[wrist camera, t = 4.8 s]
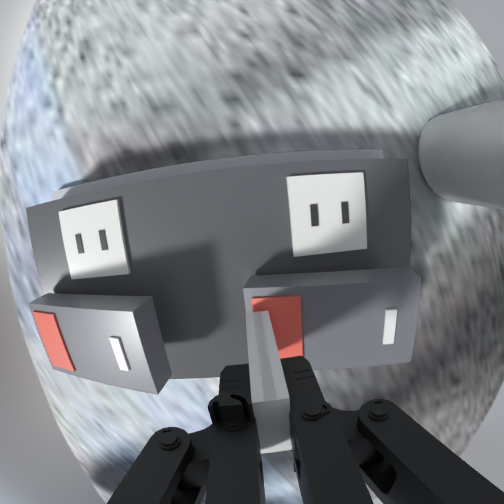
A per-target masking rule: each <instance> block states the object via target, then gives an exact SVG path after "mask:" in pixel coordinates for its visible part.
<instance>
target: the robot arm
mask: <svg viewBox="0 0 504 504" xmlns="http://www.w3.org/2000/svg"><path fill="white" fill-rule="evenodd" d="M245 315H246V330H247V344H248V358H249V363H248V364H238V365H228V366H225V367H224V369H223V370H222V372H221V373H220V383H219V395H217V396H215V397H214V398H213V399H212V400H211V401H210V402H209V405H208V410H209V413H210V417H211V420H212V424H211V425H210V426H209V427H207V428H206V429H203V430H201V431H197V432H194V433H190V434H188V433H187V432H186V431H185V430H183V429H180V428H178V427H168V428H163V429H161V430H159V431H157V432H155V433H154V434H153V435H152V436H151V438H150V439H149V441H148V442H147V444H146V445H145V447H144V448H143V450H142V451H141V453H140V455H139V456H138V458H137V459H136V461H135V462H134V464H133V465H132V467H131V468H130V470H129V471H128V473H127V474H126V476H125V477H124V479H123V480H122V482H121V483H120V485H119V486H118V488H117V489H116V491H115V492H114V494H113V495H112V497H111V498H110V500H109V501H108V502H107V504H201V501H202V499H203V497H204V494H205V492H206V489H207V493H206V504H266V503H265V491H264V478H263V466H262V460H261V454H262V453H272V452H279V451H286V450H292V449H293V457H294V472H296V474H297V478H298V483H299V487H300V492H301V496H302V500H303V504H373V501H372V499H371V496H370V494H369V491H368V489H367V487H366V484H367V485H368V486H369V487H370V489H371V490H372V491H373V492H374V493H375V495H376V496H377V497H378V498H379V499H380V500H381V501H382V503H383V504H504V492H503V491H501V490H500V489H499V488H497V487H496V486H495V485H494V484H492V483H491V482H490V481H488V480H487V479H486V478H485V477H483V476H482V475H481V474H480V473H478V472H477V471H476V470H475V469H473V468H472V467H470V465H468V464H467V463H466V462H465V461H463V460H462V459H461V458H460V457H458V456H457V455H456V454H455V453H453V452H452V451H451V450H450V449H448V448H447V447H446V446H445V445H444V444H442V443H441V442H440V441H439V440H437V439H436V438H435V437H434V436H433V435H431V434H430V433H429V432H428V431H427V430H425V429H424V428H423V427H422V426H420V425H419V424H418V423H417V422H416V421H414V420H413V419H412V418H411V417H410V416H409V415H407V414H406V413H405V412H404V411H403V410H401V409H400V408H399V407H398V406H397V405H395V404H394V403H392V402H390V401H388V400H384V399H374V400H371V401H368V402H366V403H365V404H363V405H362V406H361V408H360V410H359V411H342V410H337V409H334V408H332V407H331V405H330V404H329V403H327V402H326V401H325V400H324V397H323V395H322V392H321V390H320V387H319V385H318V382H317V380H316V377H315V374H314V372H313V370H312V367H311V364H310V362H309V361H308V360H307V359H306V358H304V357H303V356H302V355H301V356H295V357H288V358H282V359H280V357H279V353H278V349H277V345H276V341H275V337H274V333H273V328H272V324H271V320H270V316H269V312H268V311H259V312H251V313H245ZM365 483H366V484H365Z"/></svg>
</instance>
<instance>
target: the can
mask: <svg viewBox="0 0 504 504" xmlns="http://www.w3.org/2000/svg"><path fill="white" fill-rule="evenodd" d="M419 161H420V165H421V170H422V173H423V175H424V177H425V179H426V181H427V184H428V185H429V186H430V187H431V189H432V190H433V191H434V192H435V194H436V195H438V196H440V197H441V198H443V199H444V200H447V201H453V202H459V203H465V204H472V205H478V206H484V207H489V208H495V209H500V210H504V99H501V100H496V101H492V102H488V103H484V104H479V105H475V106H471V107H468V108H464V109H460V110H456V111H453V112H449V113H445V114H442V115H438V116H436V117H434V118H432V119H431V120H429V121H428V122H427V124H426V125H425V127H424V128H423V130H422V132H421V136H420V140H419Z"/></svg>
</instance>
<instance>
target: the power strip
mask: <svg viewBox="0 0 504 504" xmlns="http://www.w3.org/2000/svg"><path fill="white" fill-rule="evenodd" d="M52 197H53V201H50V202H46V203H42V204H39V205H35V206H32V207H28V208H26V212H27V219H28V225H29V231H30V237H31V243H32V248H33V253H34V258H35V262H36V266H37V271H38V275H39V279H40V283H41V287H42V290H43V294H44V295H45V294H47V293H59V294H82V295H113V296H152V298H153V302H154V307H155V311H156V315H157V319H158V323H159V327H160V331H161V335H162V339H163V343H164V347H165V350H166V354H167V358H168V361H169V365H170V368H171V372H172V375H171V377H170V378H169V379H184V378H210V377H220V373H221V372H222V370H223V369H224V367H225V366H228V365H238V364H248V363H249V358H248V344H247V330H246V315H245V313H246V308H245V300H244V292H243V288H244V286H245V284H246V283H247V281H248V279H249V278H250V276H251V275H274V274H296V273H316V272H334V271H352V270H368V269H383V268H398V267H410V245H411V218H410V190H409V174H408V162H407V159H384V152H383V149H334V150H309V151H292V152H278V153H266V154H255V155H245V156H235V157H227V158H219V159H211V160H203V161H196V162H190V163H183V164H177V165H171V166H165V167H159V168H153V169H148V170H143V171H137V172H132V173H127V174H123V175H118V176H113V177H109V178H104V179H100V180H96V181H92V182H87V183H83V184H79V185H75V186H72V187H68V188H64V189H60V190H57V191H53V192H52Z"/></svg>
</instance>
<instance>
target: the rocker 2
mask: <svg viewBox="0 0 504 504" xmlns="http://www.w3.org/2000/svg"><path fill="white" fill-rule="evenodd" d="M421 283H422V278H421V277H420V276H419V275H418V274H417V273H416V272H415V271H414V270H413V269H412V268H411V267H398V268H383V269H368V270H352V271H334V272H316V273H296V274H274V275H251V276H250V278H249V279H248V281H247V283H246V284H245V286H244V288H243V292H244V300H245V308H246V313H251V312H259V311H268V312H269V316H270V320H271V324H272V328H273V333H274V337H275V341H276V345H277V349H278V353H279V357H280V359H282V358H288V357H295V356H301V355H302V356H303V357H304V358H306V359H307V360H308V361H309V362H310V364H311V367H312V370H323V369H343V368H358V367H370V366H380V365H390V364H399V363H407V362H411V358H412V353H413V347H414V341H415V335H416V328H417V321H418V313H419V304H420V295H421Z"/></svg>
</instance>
